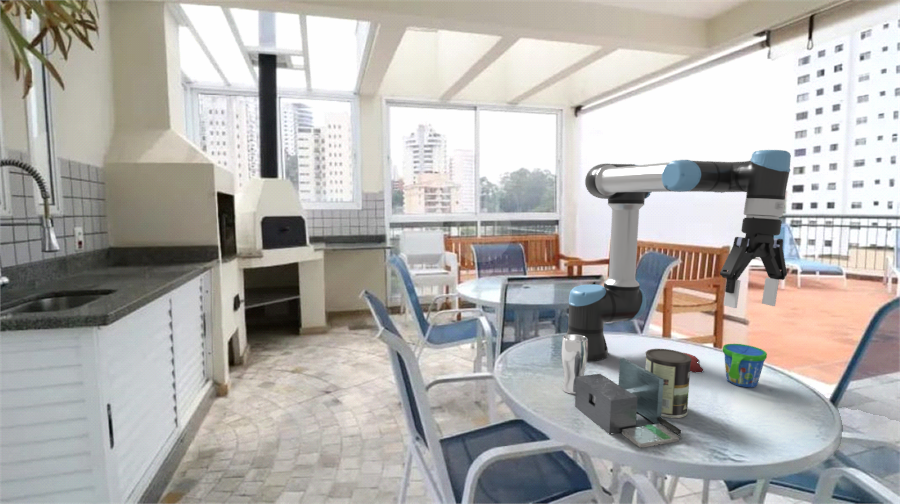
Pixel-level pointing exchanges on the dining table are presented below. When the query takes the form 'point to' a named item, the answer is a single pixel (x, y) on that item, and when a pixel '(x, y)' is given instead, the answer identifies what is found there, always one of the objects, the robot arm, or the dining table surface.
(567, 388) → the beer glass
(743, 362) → the snack cup
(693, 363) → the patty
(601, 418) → the gauge housing
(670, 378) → the coffee can
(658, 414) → the blue-grey panel with base
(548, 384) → the dining table surface
